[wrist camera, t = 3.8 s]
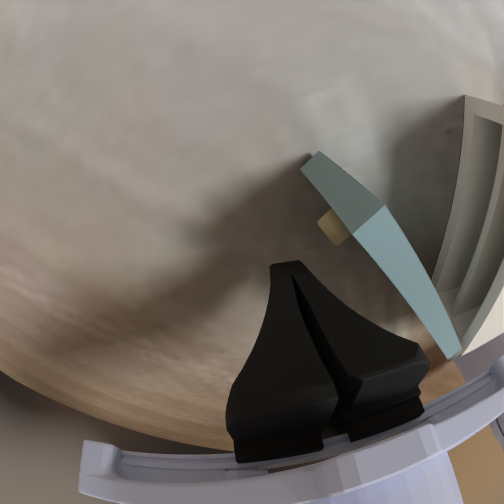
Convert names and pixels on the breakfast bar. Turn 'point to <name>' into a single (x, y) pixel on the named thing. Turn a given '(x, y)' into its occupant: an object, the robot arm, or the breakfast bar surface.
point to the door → (380, 244)
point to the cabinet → (476, 231)
